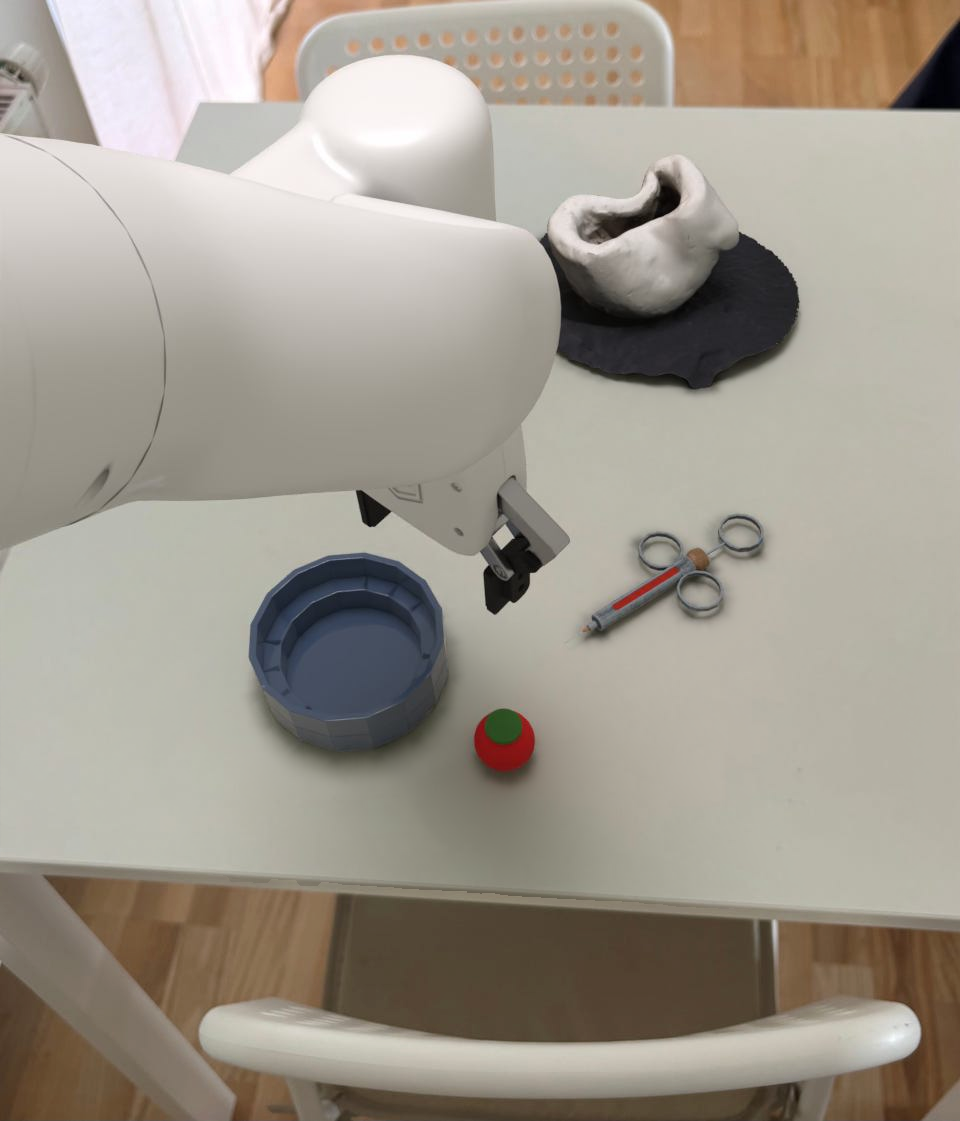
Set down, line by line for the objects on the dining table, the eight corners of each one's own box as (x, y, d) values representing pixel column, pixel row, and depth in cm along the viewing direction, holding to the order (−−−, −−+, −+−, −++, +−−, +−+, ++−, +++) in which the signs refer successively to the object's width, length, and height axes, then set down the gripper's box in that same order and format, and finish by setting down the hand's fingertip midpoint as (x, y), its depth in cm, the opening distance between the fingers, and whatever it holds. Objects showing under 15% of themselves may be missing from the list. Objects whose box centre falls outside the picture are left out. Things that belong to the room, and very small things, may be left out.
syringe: (532, 611, 80) (532, 599, 78) (721, 496, 85) (724, 482, 84) (597, 688, 76) (598, 676, 75) (791, 563, 81) (795, 549, 80)
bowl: (409, 776, 73) (402, 744, 69) (233, 724, 76) (216, 689, 72) (472, 617, 80) (469, 578, 76) (309, 574, 83) (297, 534, 78)
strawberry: (524, 788, 72) (524, 761, 69) (467, 771, 73) (463, 744, 70) (542, 735, 74) (542, 706, 71) (486, 719, 75) (483, 690, 72)
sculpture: (805, 401, 92) (850, 283, 82) (507, 388, 92) (514, 268, 82) (775, 227, 105) (811, 105, 95) (514, 216, 105) (520, 93, 95)
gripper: (233, 303, 53) (297, 518, 67) (511, 478, 46) (517, 677, 60) (343, 222, 56) (382, 445, 70) (619, 375, 49) (600, 588, 63)
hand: (444, 552), depth 65 cm, fingers open, 9 cm apart
